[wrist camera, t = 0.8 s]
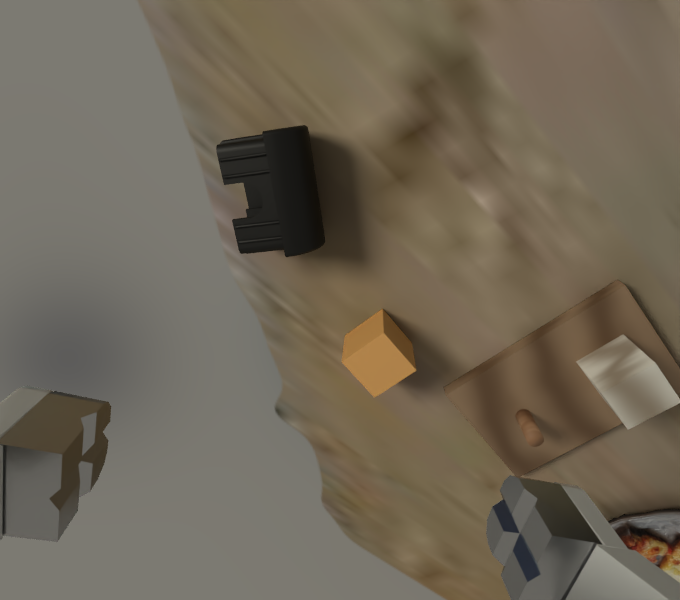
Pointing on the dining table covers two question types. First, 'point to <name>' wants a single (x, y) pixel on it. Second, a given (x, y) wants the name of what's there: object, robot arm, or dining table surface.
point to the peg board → (570, 381)
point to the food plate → (653, 537)
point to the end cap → (275, 191)
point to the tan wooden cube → (378, 353)
